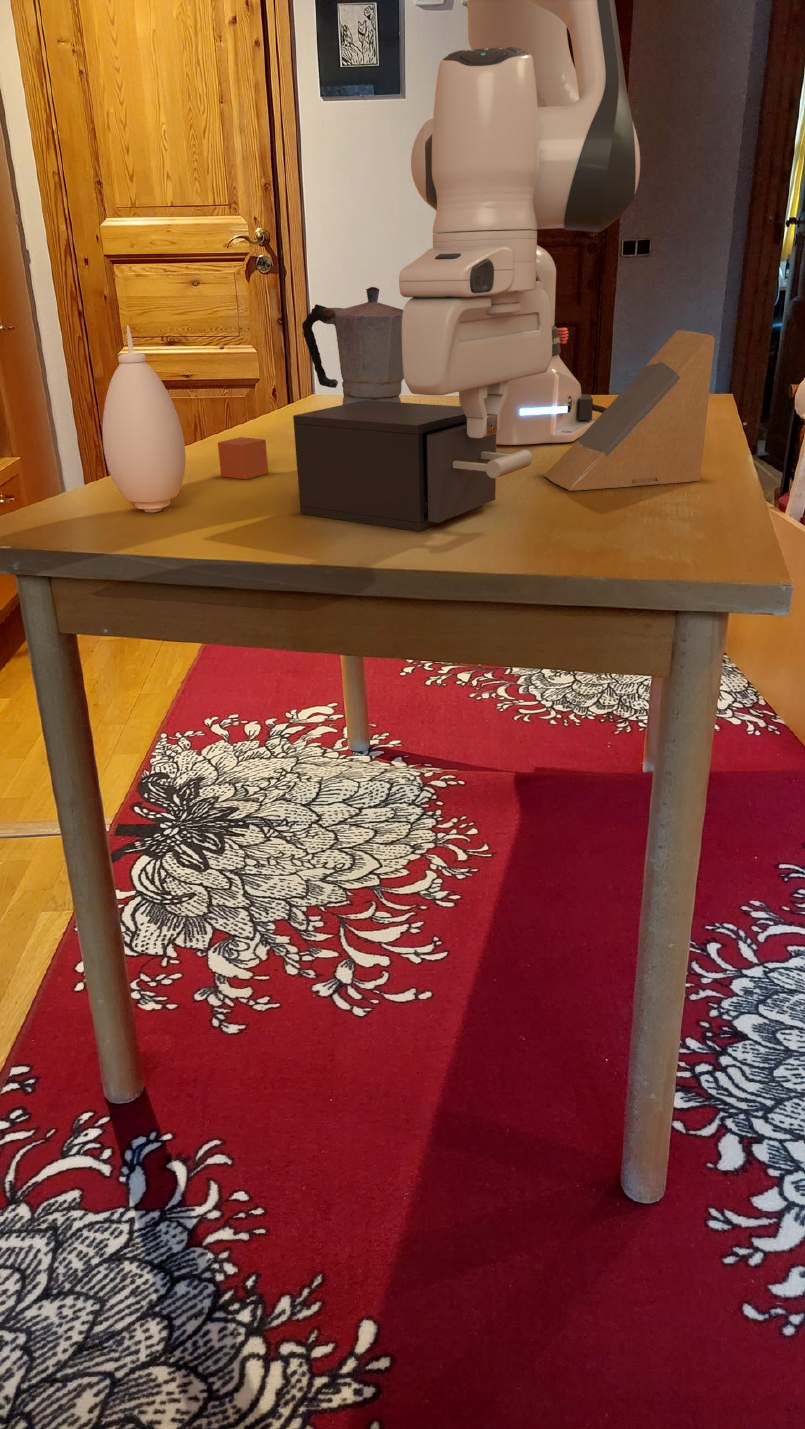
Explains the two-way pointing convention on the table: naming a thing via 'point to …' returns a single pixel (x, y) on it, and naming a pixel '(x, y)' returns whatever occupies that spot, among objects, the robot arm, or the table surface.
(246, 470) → the block
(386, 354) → the moka pot
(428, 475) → the sliding drawer unit
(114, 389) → the air blower bulb
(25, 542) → the table surface
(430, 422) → the dark drawer cabinet
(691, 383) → the sandwich container
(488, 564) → the table surface
